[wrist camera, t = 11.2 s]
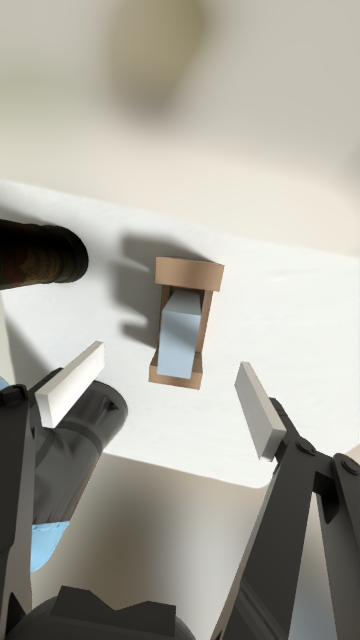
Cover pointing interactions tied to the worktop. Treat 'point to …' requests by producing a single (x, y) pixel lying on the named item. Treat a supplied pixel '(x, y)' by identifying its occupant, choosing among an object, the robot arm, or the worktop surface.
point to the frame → (204, 282)
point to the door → (179, 334)
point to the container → (39, 255)
